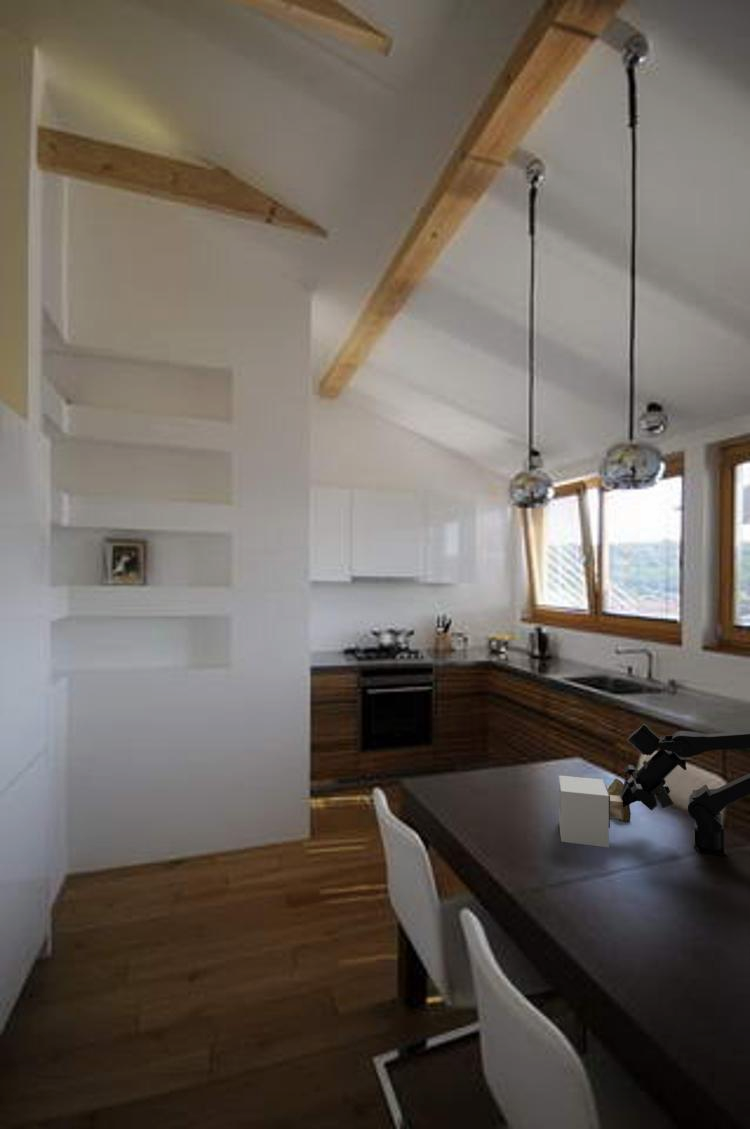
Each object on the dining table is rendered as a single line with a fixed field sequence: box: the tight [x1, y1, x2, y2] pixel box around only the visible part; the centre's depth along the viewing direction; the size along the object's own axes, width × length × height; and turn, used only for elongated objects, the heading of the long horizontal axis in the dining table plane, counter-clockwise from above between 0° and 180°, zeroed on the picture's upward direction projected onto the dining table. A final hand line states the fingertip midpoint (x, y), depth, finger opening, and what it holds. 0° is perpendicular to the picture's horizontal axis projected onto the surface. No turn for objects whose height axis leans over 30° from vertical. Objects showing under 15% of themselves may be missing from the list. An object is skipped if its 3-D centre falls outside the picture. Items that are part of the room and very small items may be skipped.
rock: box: [607, 778, 632, 822], centre depth 172 cm, size 11×9×10 cm
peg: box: [610, 795, 623, 820], centre depth 158 cm, size 12×5×5 cm, turn 75°
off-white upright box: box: [558, 775, 611, 848], centre depth 159 cm, size 13×13×14 cm
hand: (618, 807), depth 160 cm, fingers closed
